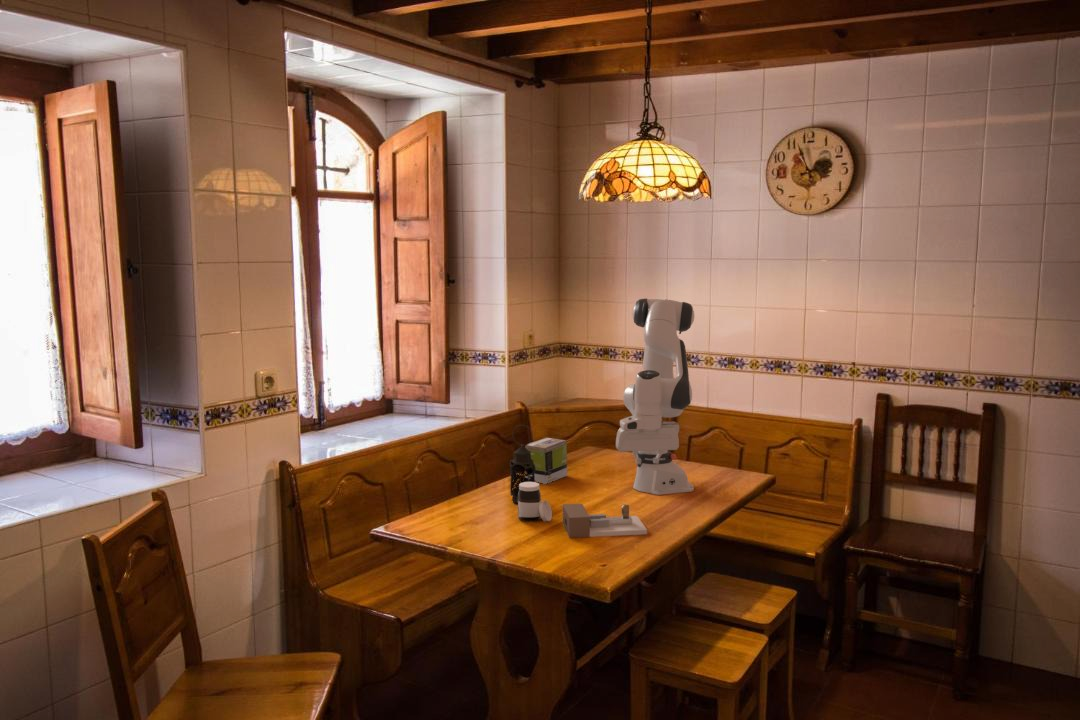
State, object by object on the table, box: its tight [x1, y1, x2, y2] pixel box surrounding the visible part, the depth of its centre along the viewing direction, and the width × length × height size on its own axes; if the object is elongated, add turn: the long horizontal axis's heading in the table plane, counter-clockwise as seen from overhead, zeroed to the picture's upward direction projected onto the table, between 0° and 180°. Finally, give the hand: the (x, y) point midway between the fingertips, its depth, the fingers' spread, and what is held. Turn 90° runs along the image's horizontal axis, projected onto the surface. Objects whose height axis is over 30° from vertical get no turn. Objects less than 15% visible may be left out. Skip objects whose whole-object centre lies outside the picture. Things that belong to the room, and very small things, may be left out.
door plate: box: [562, 503, 648, 539], centre depth 280 cm, size 25×14×6 cm, turn 97°
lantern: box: [509, 424, 536, 504], centre depth 308 cm, size 10×9×28 cm
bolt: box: [600, 504, 632, 525], centre depth 280 cm, size 10×2×6 cm, turn 97°
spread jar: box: [517, 482, 553, 523], centre depth 290 cm, size 12×11×12 cm
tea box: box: [524, 437, 568, 485], centre depth 338 cm, size 15×10×15 cm
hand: (647, 463), depth 279 cm, fingers open, 4 cm apart
